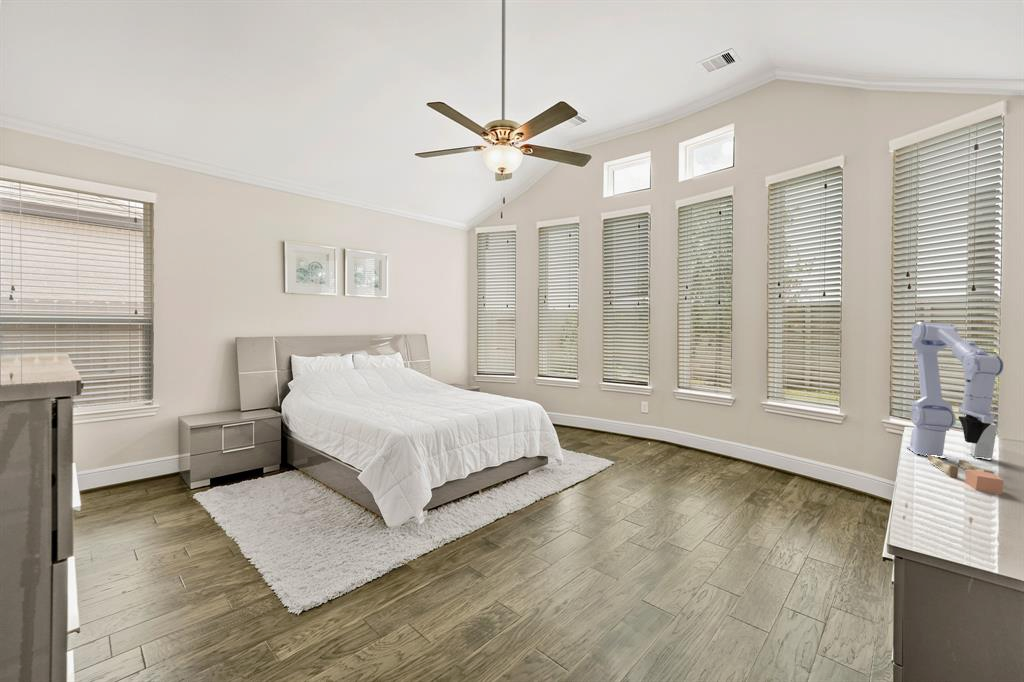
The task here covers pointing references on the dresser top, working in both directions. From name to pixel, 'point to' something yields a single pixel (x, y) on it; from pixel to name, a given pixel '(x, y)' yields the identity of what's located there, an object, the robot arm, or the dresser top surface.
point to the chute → (953, 466)
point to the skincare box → (985, 443)
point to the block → (984, 481)
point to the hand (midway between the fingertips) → (970, 442)
